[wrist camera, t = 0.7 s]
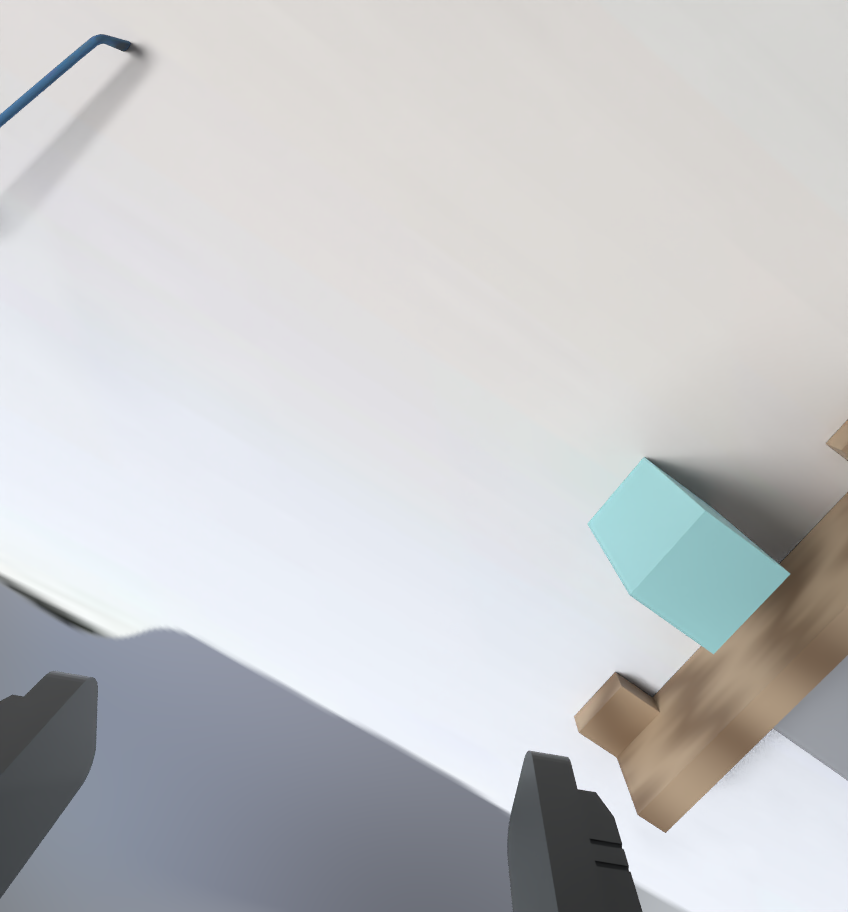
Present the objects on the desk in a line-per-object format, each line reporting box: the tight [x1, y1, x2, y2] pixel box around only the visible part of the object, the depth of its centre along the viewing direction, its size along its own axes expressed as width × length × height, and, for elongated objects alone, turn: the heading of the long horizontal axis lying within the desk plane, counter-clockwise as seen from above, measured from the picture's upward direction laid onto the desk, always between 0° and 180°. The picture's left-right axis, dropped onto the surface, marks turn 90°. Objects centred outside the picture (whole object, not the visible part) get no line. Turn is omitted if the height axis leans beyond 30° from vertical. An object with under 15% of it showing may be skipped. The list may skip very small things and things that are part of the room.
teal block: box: [588, 457, 790, 654], centre depth 34 cm, size 5×5×9 cm
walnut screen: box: [574, 420, 848, 833], centre depth 36 cm, size 26×8×6 cm, turn 144°
